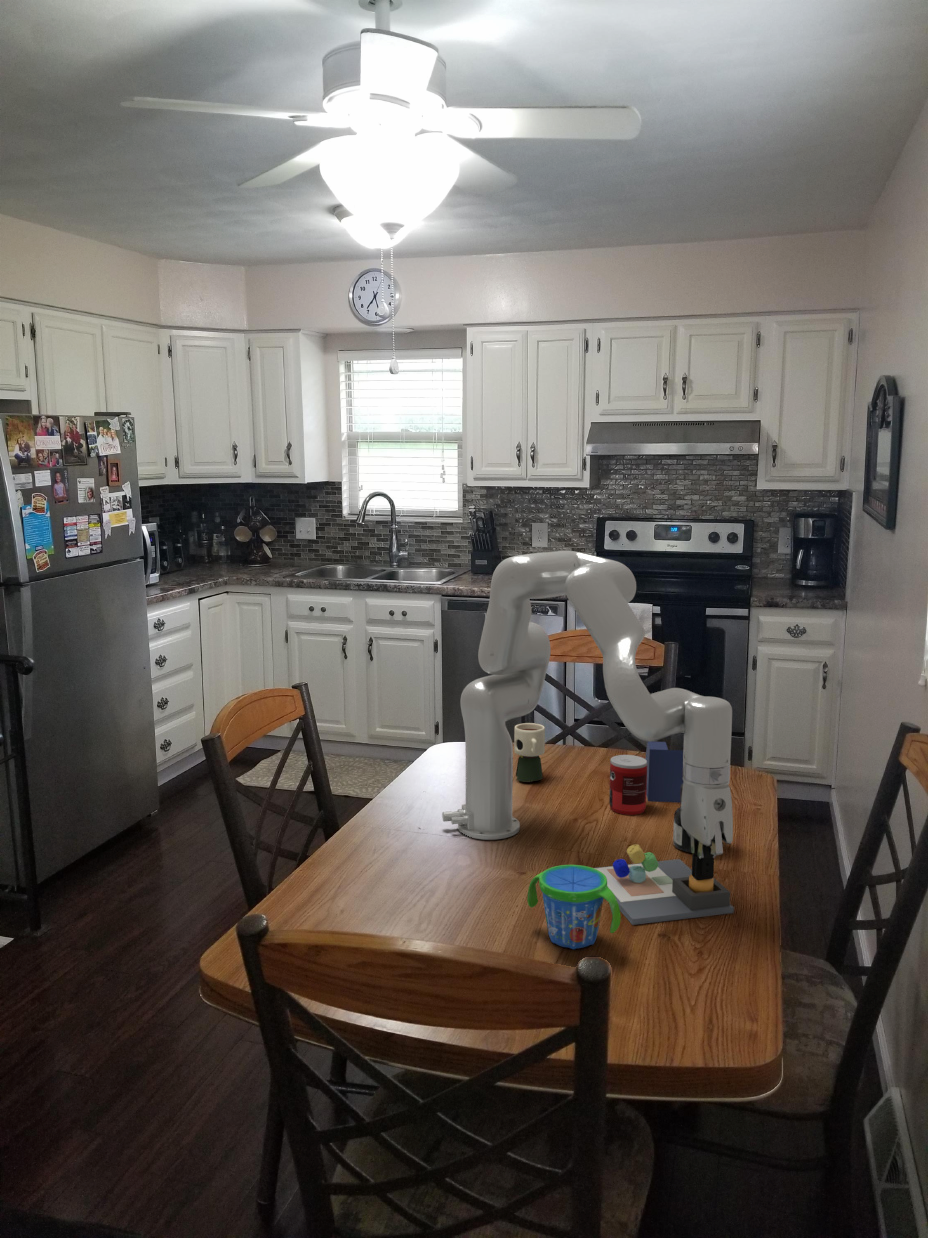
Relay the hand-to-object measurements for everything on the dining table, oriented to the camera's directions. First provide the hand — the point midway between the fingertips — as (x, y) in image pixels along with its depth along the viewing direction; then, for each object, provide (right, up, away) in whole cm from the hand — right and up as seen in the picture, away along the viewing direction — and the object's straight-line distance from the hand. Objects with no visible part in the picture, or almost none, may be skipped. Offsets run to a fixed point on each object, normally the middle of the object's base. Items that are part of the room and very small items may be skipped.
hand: (702, 877), depth 159 cm
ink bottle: (+5, -1, +26) cm, 26 cm away
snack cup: (-23, -7, -11) cm, 26 cm away
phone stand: (+7, +4, +56) cm, 56 cm away
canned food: (-5, +2, +46) cm, 46 cm away
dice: (-10, -3, +8) cm, 13 cm away
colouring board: (-6, -4, +6) cm, 9 cm away
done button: (0, -3, +1) cm, 3 cm away
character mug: (-25, +5, +64) cm, 69 cm away
